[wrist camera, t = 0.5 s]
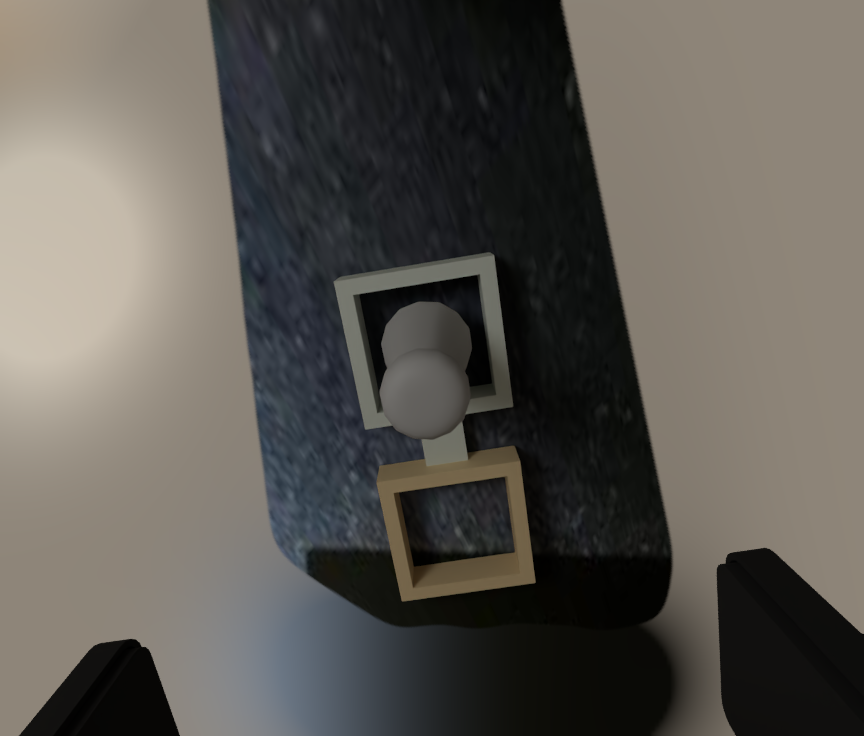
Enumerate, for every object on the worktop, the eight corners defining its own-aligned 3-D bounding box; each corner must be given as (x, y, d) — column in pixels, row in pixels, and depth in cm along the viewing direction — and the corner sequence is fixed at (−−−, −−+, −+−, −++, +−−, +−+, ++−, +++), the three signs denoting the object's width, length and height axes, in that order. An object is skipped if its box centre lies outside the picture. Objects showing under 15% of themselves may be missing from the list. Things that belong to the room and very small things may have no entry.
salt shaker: (423, 277, 35) (420, 313, 23) (486, 333, 36) (516, 396, 24) (367, 341, 37) (335, 409, 24) (430, 393, 38) (430, 483, 25)
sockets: (340, 277, 35) (333, 281, 33) (489, 252, 35) (494, 255, 32) (403, 579, 42) (401, 601, 40) (529, 561, 42) (535, 582, 39)
